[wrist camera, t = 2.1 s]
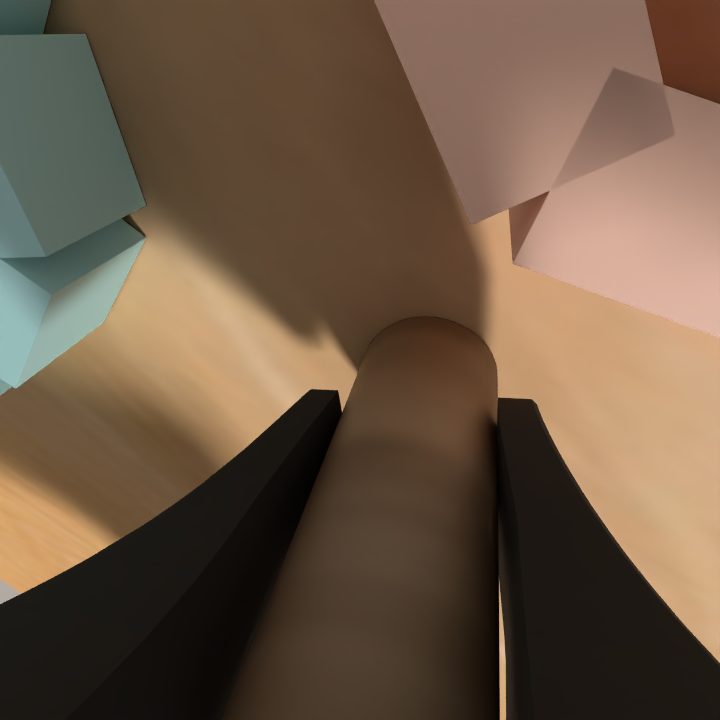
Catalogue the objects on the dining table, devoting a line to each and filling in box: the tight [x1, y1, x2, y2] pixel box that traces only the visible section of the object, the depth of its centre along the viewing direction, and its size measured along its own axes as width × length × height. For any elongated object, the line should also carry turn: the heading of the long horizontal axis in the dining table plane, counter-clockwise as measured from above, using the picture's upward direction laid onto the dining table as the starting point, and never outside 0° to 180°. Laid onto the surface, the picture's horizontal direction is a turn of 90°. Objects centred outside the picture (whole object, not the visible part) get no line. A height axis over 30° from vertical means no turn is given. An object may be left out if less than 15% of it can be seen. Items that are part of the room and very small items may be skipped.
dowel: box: [221, 317, 500, 720], centre depth 8 cm, size 3×3×8 cm
